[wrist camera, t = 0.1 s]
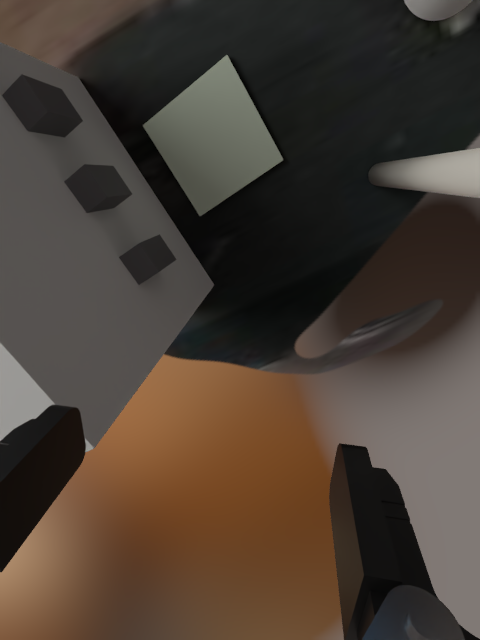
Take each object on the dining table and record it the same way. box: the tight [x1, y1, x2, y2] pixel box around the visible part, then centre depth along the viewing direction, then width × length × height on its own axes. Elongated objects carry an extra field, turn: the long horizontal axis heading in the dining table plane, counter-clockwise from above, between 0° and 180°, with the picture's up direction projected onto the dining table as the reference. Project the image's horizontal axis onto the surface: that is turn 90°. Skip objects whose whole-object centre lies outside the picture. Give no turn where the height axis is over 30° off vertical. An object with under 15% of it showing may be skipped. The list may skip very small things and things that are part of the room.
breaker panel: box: [0, 42, 214, 452], centre depth 25 cm, size 7×24×26 cm, turn 32°
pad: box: [143, 55, 283, 216], centre depth 34 cm, size 10×10×1 cm
